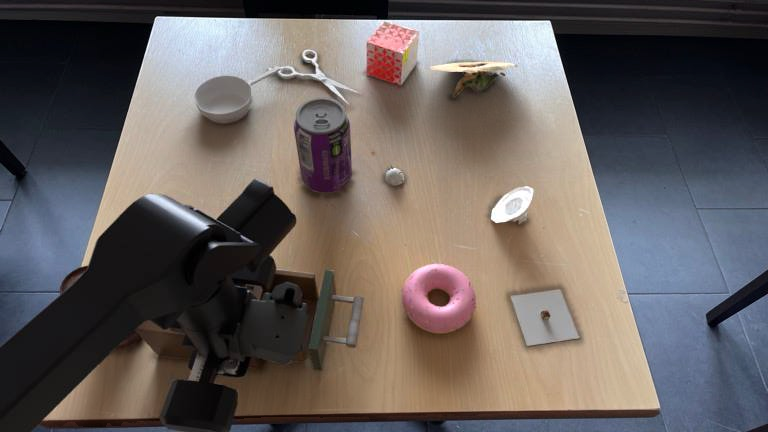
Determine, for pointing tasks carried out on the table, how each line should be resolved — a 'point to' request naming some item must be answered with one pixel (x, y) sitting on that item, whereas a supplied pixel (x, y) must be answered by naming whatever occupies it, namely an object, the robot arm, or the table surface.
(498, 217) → the white footed dish
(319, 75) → the scissors
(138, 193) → the table surface
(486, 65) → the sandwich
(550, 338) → the grey square plate
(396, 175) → the white rounded lump
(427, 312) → the doughnut
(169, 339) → the cabinet
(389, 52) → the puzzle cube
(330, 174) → the beverage can
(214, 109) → the saucepan
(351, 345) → the drawer
